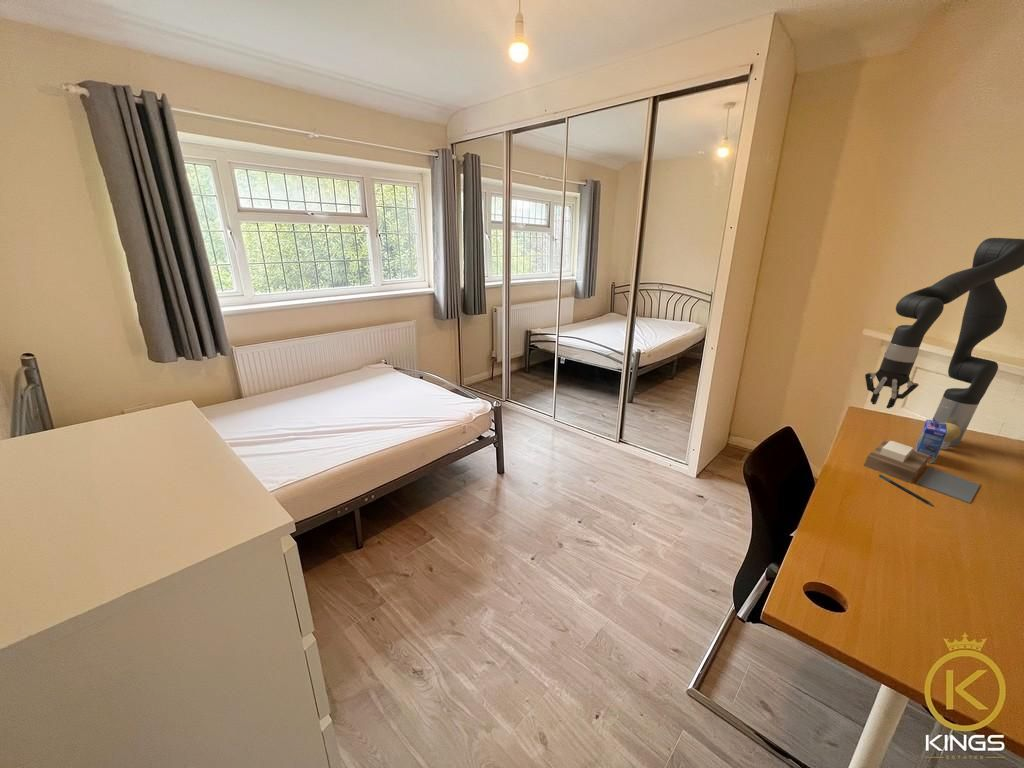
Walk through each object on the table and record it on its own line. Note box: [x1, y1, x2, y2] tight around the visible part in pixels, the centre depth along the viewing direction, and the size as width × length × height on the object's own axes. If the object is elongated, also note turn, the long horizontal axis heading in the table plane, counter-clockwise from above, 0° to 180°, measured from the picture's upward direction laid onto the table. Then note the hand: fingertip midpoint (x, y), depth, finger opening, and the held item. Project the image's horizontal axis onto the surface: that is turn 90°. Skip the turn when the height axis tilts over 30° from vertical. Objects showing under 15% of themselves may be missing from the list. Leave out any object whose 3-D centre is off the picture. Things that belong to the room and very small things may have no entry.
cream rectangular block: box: [880, 439, 914, 462], centre depth 136 cm, size 9×6×2 cm, turn 125°
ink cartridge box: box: [914, 416, 947, 464], centre depth 141 cm, size 10×6×14 cm, turn 136°
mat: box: [915, 466, 981, 504], centre depth 127 cm, size 16×12×1 cm
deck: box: [863, 440, 930, 483], centre depth 137 cm, size 18×12×4 cm, turn 125°
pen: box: [878, 474, 934, 507], centre depth 124 cm, size 1×16×1 cm, turn 10°
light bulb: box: [940, 423, 961, 450], centre depth 147 cm, size 6×6×10 cm
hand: (881, 405), depth 137 cm, fingers open, 3 cm apart
